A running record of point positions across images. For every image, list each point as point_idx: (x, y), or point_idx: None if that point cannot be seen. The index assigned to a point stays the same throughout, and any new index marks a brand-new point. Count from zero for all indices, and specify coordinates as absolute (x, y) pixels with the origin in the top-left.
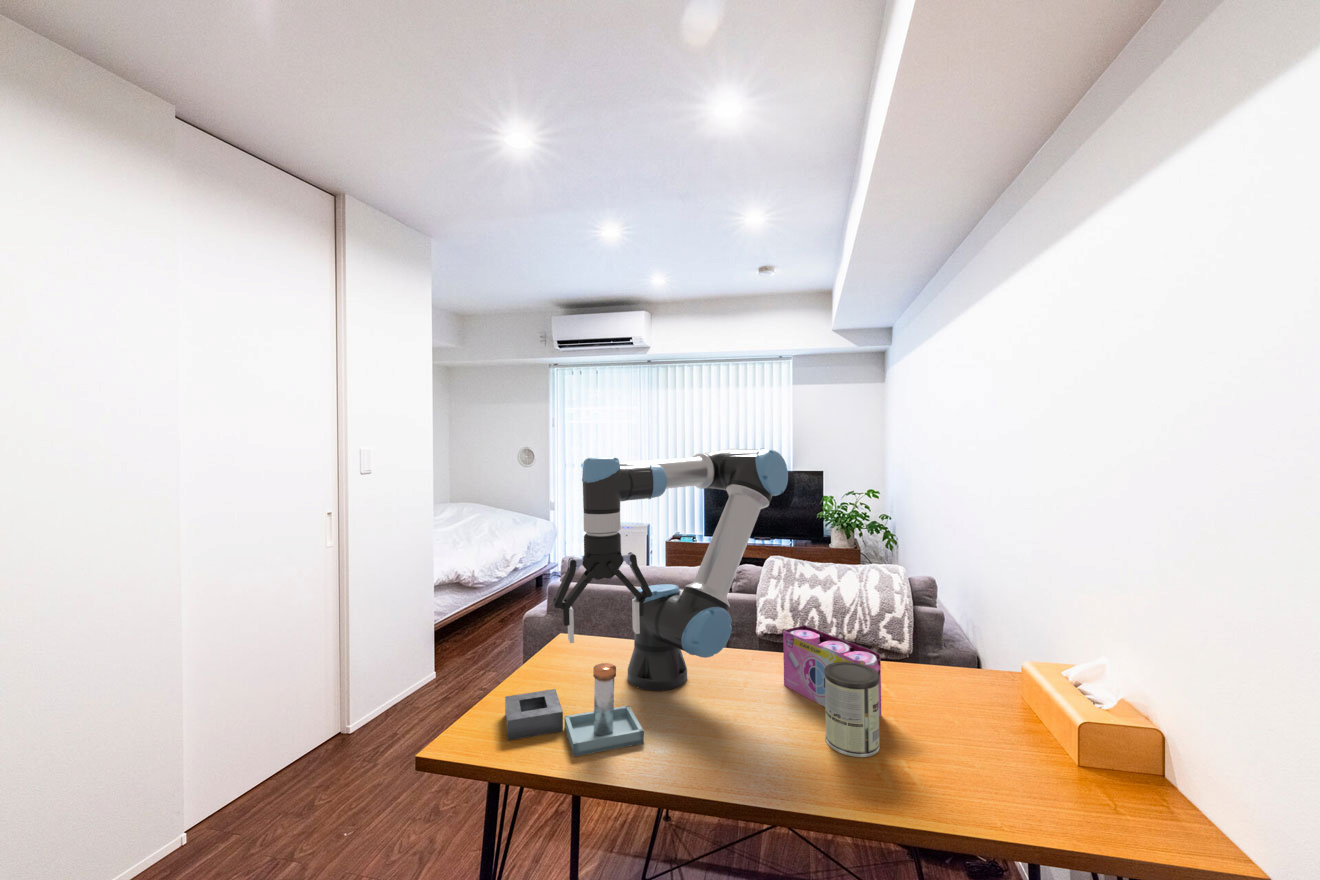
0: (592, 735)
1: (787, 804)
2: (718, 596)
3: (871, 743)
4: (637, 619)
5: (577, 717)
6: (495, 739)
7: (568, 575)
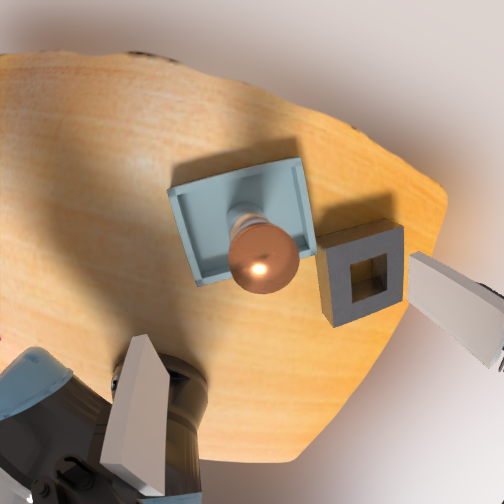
0: (264, 207)
1: (20, 61)
2: None
3: None
4: (127, 382)
5: None
6: None
7: None
